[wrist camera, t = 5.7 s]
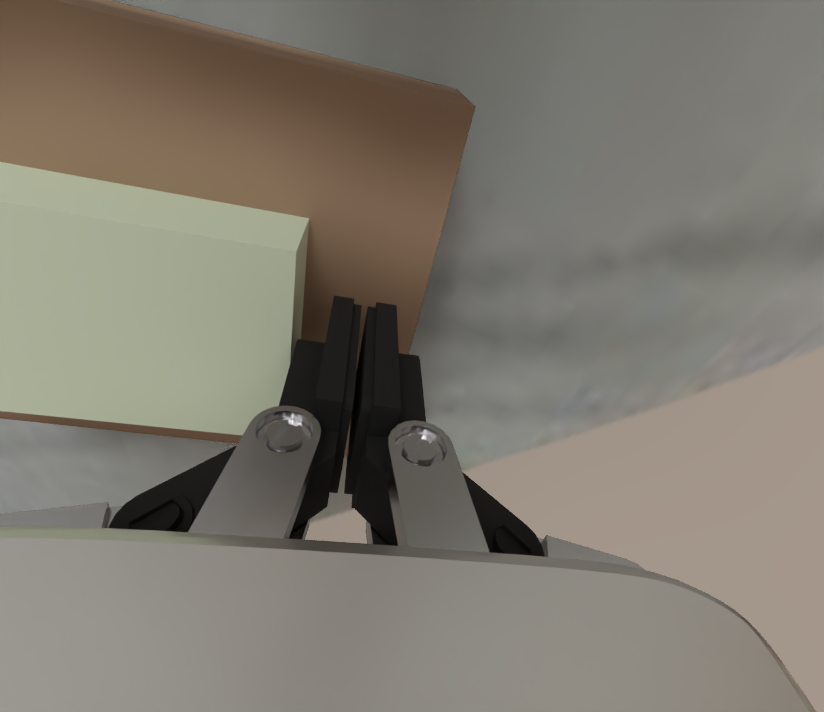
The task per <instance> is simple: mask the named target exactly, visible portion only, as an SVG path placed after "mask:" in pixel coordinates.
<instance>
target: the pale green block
mask: <svg viewBox="0 0 824 712" xmlns="http://www.w3.org/2000/svg"><path fill="white" fill-rule="evenodd" d="M308 228H309V218H305V217H299V216H294V215H288V214H283V213H278V212H272V211H267V210H261V209H256V208H250V207H245V206H239V205H234V204H228V203H223V202H217V201H212V200H206V199H201V198H195V197H190V196H184V195H179V194H173V193H168V192H162V191H157V190H151V189H146V188H141V187H135V186H130V185H124V184H119V183H113V182H108V181H102V180H97V179H91V178H86V177H80V176H75V175H69V174H64V173H58V172H53V171H47V170H42V169H36V168H31V167H25V166H20V165H14V164H9V163H4V162H0V411H5V412H15V413H25V414H35V415H45V416H55V417H65V418H74V419H84V420H94V421H104V422H114V423H124V424H134V425H144V426H154V427H164V428H173V429H183V430H193V431H203V432H213V433H223V434H233V435H243V434H244V432H245V430H246V429H247V427H248V425H249V423H250V422H251V421H252V420H253V418H254V417H255V416H256V415H257V414H259V413H261V412H262V411H264V410H266V409H269V408H272V407H276V406H279V402H280V399H281V395H282V392H283V388H284V385H285V381H286V377H287V374H288V370H289V367H290V363H291V359H292V356H293V352H294V349H295V345H296V342H297V340H298V339H301V329H302V314H303V300H304V286H305V271H306V257H307V243H308Z"/></svg>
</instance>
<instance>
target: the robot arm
mask: <svg viewBox="0 0 824 712" xmlns="http://www.w3.org/2000/svg"><path fill="white" fill-rule="evenodd" d="M361 307H362V305H358V304H354V298H348V297H341V296H335V295H334V298H333V303H332V309H331V314H330V319H329V325H328V330H327V335H326V341H325V343H323V342H316V341H309V340H302V339H298V340H297V342H296V345H295V349H294V352H293V356H292V359H291V363H290V367H289V370H288V374H287V377H286V381H285V385H284V388H283V392H282V395H281V399H280V402H279V406H276V407H272V408H269V409H266V410H264V411H262V412H261V413H259V414H257V415H256V416H255V417H254V418H253V420H252V421H251V422H250V423H249V425H248V427H247V429H246V430H245V432H244V434H243V436H242V437H241V439H240V441H239V443H238V445H237V446H235V447H233V448H231V449H229V450H227V451H225V452H223V453H221V454H219V455H217V456H215V457H213V458H211V459H209V460H207V461H205V462H203V463H201V464H199V465H197V466H195V467H193V468H191V469H189V470H187V471H185V472H183V473H181V474H179V475H177V476H175V477H173V478H171V479H169V480H167V481H165V482H163V483H161V484H159V485H157V486H155V487H154V488H152V489H150V490H148V491H146V492H144V493H142V494H140V495H138V496H136V497H135V498H133V499H132V500H130V501H129V502H127V503H126V504H125V505H124V506H120V507H111V508H110V507H109V504H108V502H105V503H96V504H87V505H78V506H69V507H60V508H51V509H42V510H33V511H24V512H14V513H5V514H0V712H816V711H815V709H814V708H813V706H812V704H811V703H810V701H809V700H808V698H807V697H806V695H805V694H804V692H803V691H802V689H801V688H800V687H799V685H798V684H797V682H796V681H795V680H794V678H793V677H792V675H791V674H790V672H789V671H788V669H787V668H786V667H785V665H784V664H783V662H782V661H781V660H780V658H779V657H778V656H777V654H776V653H775V652H774V650H773V649H772V648H771V646H770V645H769V644H768V643H767V642H766V640H765V639H764V638H763V637H762V636H761V634H760V633H759V632H758V631H757V630H756V629H755V628H754V627H753V626H752V625H751V624H750V623H749V622H748V621H747V620H746V619H745V618H744V617H742V616H741V615H740V614H739V613H738V612H736V611H735V610H734V609H732V608H731V607H729V606H728V605H726V604H725V603H723V602H721V601H719V600H718V599H716V598H714V597H712V596H711V595H709V594H707V593H705V592H703V591H700V590H698V589H696V588H694V587H692V586H689V585H687V584H685V583H683V582H680V581H678V580H675V579H672V578H669V577H666V576H663V575H660V574H657V573H654V572H650V571H646V570H644V569H643V568H642V567H641V566H639V565H638V564H636V563H634V562H631V561H629V560H627V559H624V558H621V557H617V556H614V555H611V554H608V553H604V552H601V551H598V550H594V549H591V548H588V547H584V546H581V545H577V544H574V543H571V542H568V541H564V540H561V539H557V538H554V537H551V536H548V535H546V537H545V538H544V539H540V538H537V536H536V535H535V533H534V532H533V531H532V530H531V529H530V528H529V527H528V526H527V525H526V524H524V523H523V522H522V521H521V520H520V519H518V518H517V517H516V516H515V515H514V514H512V513H511V512H510V511H509V510H508V509H506V508H505V507H504V506H503V505H501V504H500V503H499V502H498V501H497V500H495V499H494V498H493V497H492V496H491V495H489V494H488V493H487V492H486V491H485V490H483V489H482V488H481V487H480V486H478V485H477V484H476V483H475V482H474V481H472V480H471V479H470V478H469V477H468V476H466V475H465V474H464V473H463V472H462V470H461V467H460V464H459V461H458V458H457V455H456V452H455V450H454V447H453V444H452V442H451V440H450V438H449V437H448V436H447V435H446V434H445V433H444V432H443V431H442V430H441V429H440V428H438V427H436V426H435V425H433V424H430V423H427V422H426V417H425V408H424V398H423V388H422V378H421V368H420V360H419V357H418V356H416V355H409V354H402V353H399V348H398V324H397V305H392V304H386V303H379V302H376V306H375V307H370V306H368V308H367V313H366V319H365V324H364V330H363V336H362V342H361V347H360V353H359V359H358V365H357V355H358V343H359V331H360V319H361ZM356 367H357V370H356ZM350 420H351V421H350ZM349 426H350V433H349V444H348V456H347V468H346V479H345V492H344V493H345V494H353V495H352V508H355V509H356V510H357V511H358V512H359V513H360V514H361V515H362V516H363V517H364V518H365V519H366V520H367V522H366V537H367V544H361V543H346V542H330V541H315V540H305V537H306V534H307V531H308V528H309V522H310V518H312V517H313V516H315V515H316V514H317V513H319V512H320V511H322V510H323V509H324V508H326V507H327V504H328V498H329V492H332V493H337V492H338V487H339V481H340V476H341V470H342V465H343V459H344V453H345V448H346V442H347V437H348V431H349Z"/></svg>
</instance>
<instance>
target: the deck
mask: <svg viewBox="0 0 824 712" xmlns="http://www.w3.org/2000/svg"><path fill="white" fill-rule="evenodd" d="M474 110H475V106H474V105H473V104H472V103H471V102H470V101H469V100H468V99H467V98H466V97H465V96H464V95H463V94H462V93H461V92H460V91H458V90H457V89H453V88H449V87H445V86H442V85H438V84H434V83H430V82H426V81H422V80H418V79H414V78H411V77H407V76H403V75H399V74H395V73H391V72H387V71H383V70H380V69H376V68H372V67H368V66H364V65H360V64H356V63H352V62H348V61H345V60H341V59H337V58H333V57H329V56H325V55H321V54H317V53H314V52H310V51H306V50H302V49H298V48H294V47H290V46H286V45H283V44H279V43H275V42H271V41H267V40H263V39H259V38H255V37H252V36H248V35H244V34H240V33H236V32H232V31H228V30H224V29H221V28H217V27H213V26H209V25H205V24H201V23H197V22H193V21H190V20H186V19H182V18H178V17H174V16H170V15H166V14H162V13H159V12H155V11H151V10H147V9H143V8H139V7H135V6H131V5H128V4H124V3H120V2H116V1H112V0H0V162H4V163H9V164H14V165H20V166H25V167H31V168H36V169H42V170H47V171H53V172H58V173H64V174H69V175H75V176H80V177H86V178H91V179H97V180H102V181H108V182H113V183H119V184H124V185H130V186H135V187H141V188H146V189H151V190H157V191H162V192H168V193H173V194H179V195H184V196H190V197H195V198H201V199H206V200H212V201H217V202H223V203H228V204H234V205H239V206H245V207H250V208H256V209H261V210H267V211H272V212H278V213H283V214H288V215H294V216H299V217H305V218H309V228H308V243H307V257H306V271H305V286H304V300H303V314H302V329H301V339H302V340H309V341H316V342H323V343H325V341H326V335H327V330H328V325H329V319H330V314H331V309H332V303H333V298H334V295H335V296H341V297H348V298H354V304H358V305H362V307H361V319H360V331H359V343H358V355H357V365H358V359H359V353H360V347H361V342H362V336H363V330H364V324H365V319H366V313H367V308H368V306H370V307H375V306H376V302H379V303H386V304H392V305H397V324H398V348H399V353H402V354H409V350H410V346H411V343H412V339H413V335H414V332H415V328H416V324H417V320H418V317H419V313H420V309H421V306H422V302H423V298H424V295H425V291H426V287H427V284H428V280H429V276H430V272H431V269H432V265H433V261H434V258H435V254H436V250H437V247H438V243H439V239H440V235H441V232H442V228H443V224H444V221H445V217H446V213H447V210H448V206H449V202H450V199H451V195H452V191H453V187H454V184H455V180H456V176H457V173H458V169H459V165H460V162H461V158H462V154H463V150H464V147H465V143H466V139H467V136H468V132H469V128H470V125H471V121H472V117H473V114H474ZM356 370H357V367H356ZM0 418H3V419H12V420H22V421H31V422H41V423H50V424H60V425H69V426H78V427H88V428H97V429H107V430H116V431H126V432H135V433H144V434H154V435H163V436H173V437H182V438H192V439H201V440H211V441H220V442H229V443H239V441H240V439H241V437H242V436H243V435H233V434H223V433H213V432H203V431H193V430H183V429H173V428H164V427H154V426H144V425H134V424H124V423H114V422H104V421H94V420H84V419H74V418H65V417H55V416H45V415H35V414H25V413H15V412H5V411H0ZM350 421H351V420H350ZM349 433H350V426H349V431H348V437H347V442H346V448H345V453H344V455H348V444H349Z"/></svg>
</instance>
